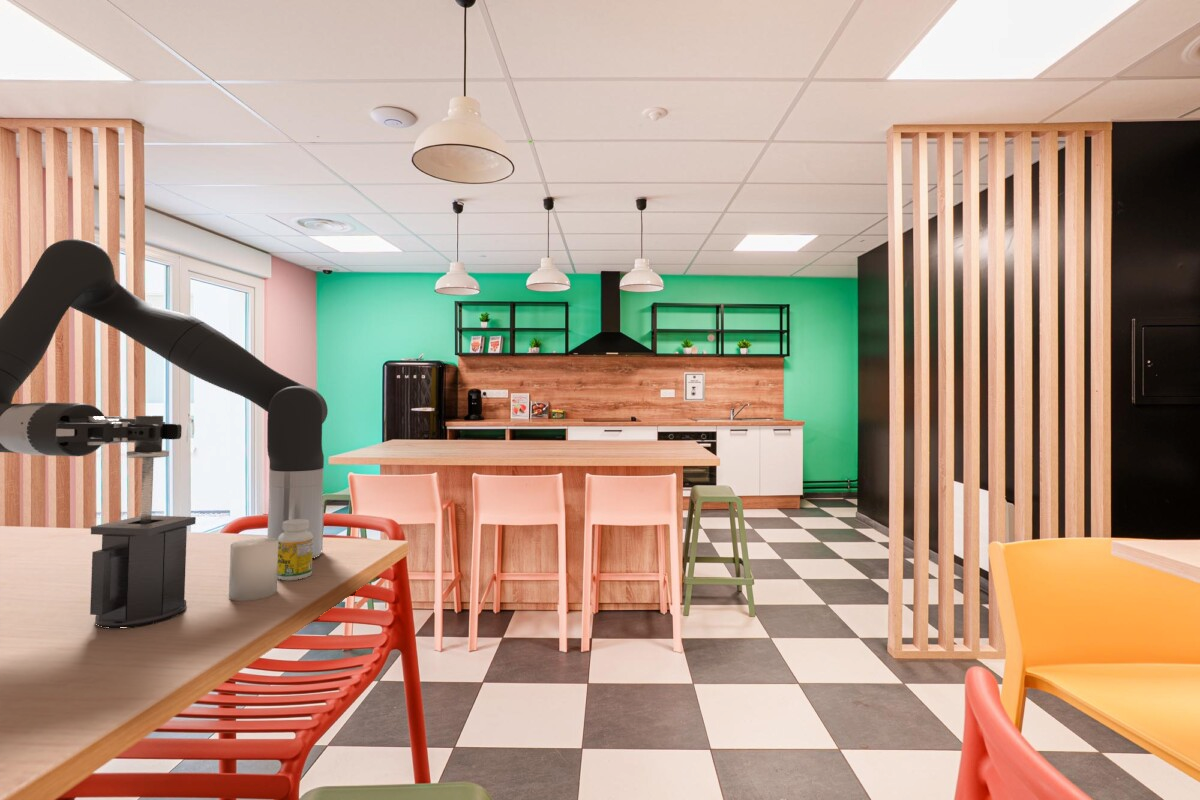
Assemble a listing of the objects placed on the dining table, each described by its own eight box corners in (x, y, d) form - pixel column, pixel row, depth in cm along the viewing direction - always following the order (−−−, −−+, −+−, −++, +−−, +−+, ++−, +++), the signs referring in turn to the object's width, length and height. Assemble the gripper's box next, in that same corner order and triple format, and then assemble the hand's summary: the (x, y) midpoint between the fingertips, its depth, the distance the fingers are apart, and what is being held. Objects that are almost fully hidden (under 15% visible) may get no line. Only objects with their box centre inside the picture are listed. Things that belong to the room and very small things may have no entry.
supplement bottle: (318, 575, 96) (320, 520, 96) (288, 583, 92) (290, 525, 92) (299, 570, 99) (301, 516, 99) (269, 577, 94) (271, 521, 94)
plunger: (143, 560, 79) (148, 415, 80) (173, 561, 79) (178, 416, 79) (113, 569, 75) (119, 415, 75) (145, 571, 75) (150, 416, 75)
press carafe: (140, 600, 82) (143, 513, 82) (203, 603, 82) (206, 516, 82) (59, 632, 70) (63, 531, 71) (131, 636, 70) (135, 534, 70)
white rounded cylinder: (247, 586, 90) (249, 537, 90) (285, 587, 89) (287, 538, 90) (218, 599, 83) (220, 547, 84) (259, 601, 83) (260, 548, 83)
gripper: (-3, 402, 71) (124, 405, 70) (102, 403, 85) (208, 405, 84) (-5, 460, 71) (122, 464, 70) (100, 451, 85) (206, 454, 84)
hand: (168, 432), depth 77 cm, fingers closed on plunger, 3 cm apart
